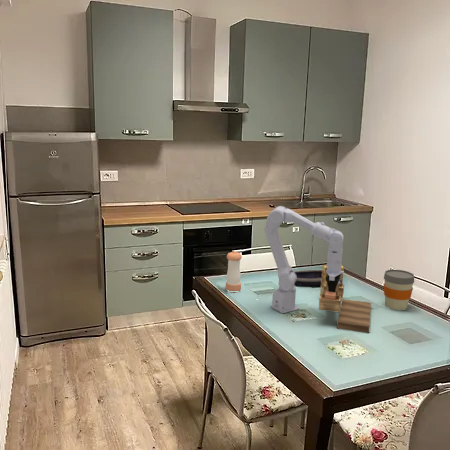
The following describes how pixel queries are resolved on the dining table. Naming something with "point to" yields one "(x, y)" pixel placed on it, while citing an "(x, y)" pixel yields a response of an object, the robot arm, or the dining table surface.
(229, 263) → the salt shaker
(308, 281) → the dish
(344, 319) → the dock
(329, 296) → the salmon orange block
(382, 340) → the dining table surface
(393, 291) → the reusable coffee cup
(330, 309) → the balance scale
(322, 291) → the candy box
